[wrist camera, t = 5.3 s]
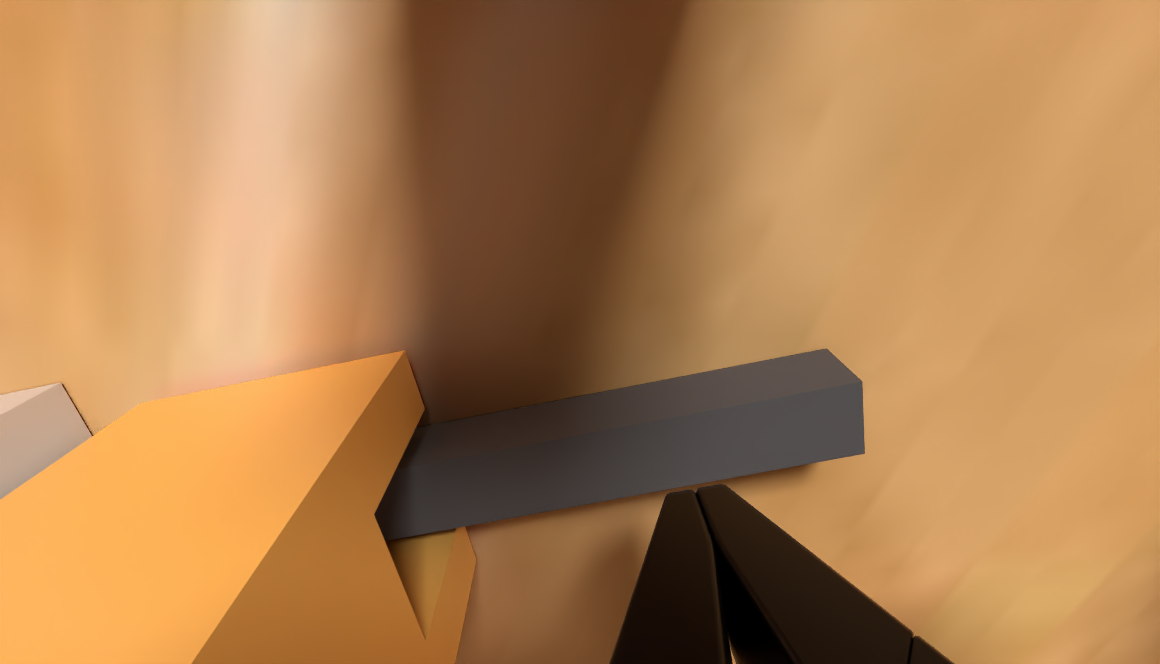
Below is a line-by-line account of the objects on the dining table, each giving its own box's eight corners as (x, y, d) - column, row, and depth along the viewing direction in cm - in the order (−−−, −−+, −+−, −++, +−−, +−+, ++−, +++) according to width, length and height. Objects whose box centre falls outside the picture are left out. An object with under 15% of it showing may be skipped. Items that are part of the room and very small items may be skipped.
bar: (826, 348, 11) (862, 381, 9) (830, 413, 11) (865, 453, 10) (-19, 511, 12) (-93, 561, 10) (19, 565, 12) (-47, 619, 11)
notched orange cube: (405, 350, 10) (160, 707, 4) (476, 559, 12) (378, 1034, 6) (141, 403, 11) (-458, 813, 4) (247, 601, 12) (-76, 1094, 6)
